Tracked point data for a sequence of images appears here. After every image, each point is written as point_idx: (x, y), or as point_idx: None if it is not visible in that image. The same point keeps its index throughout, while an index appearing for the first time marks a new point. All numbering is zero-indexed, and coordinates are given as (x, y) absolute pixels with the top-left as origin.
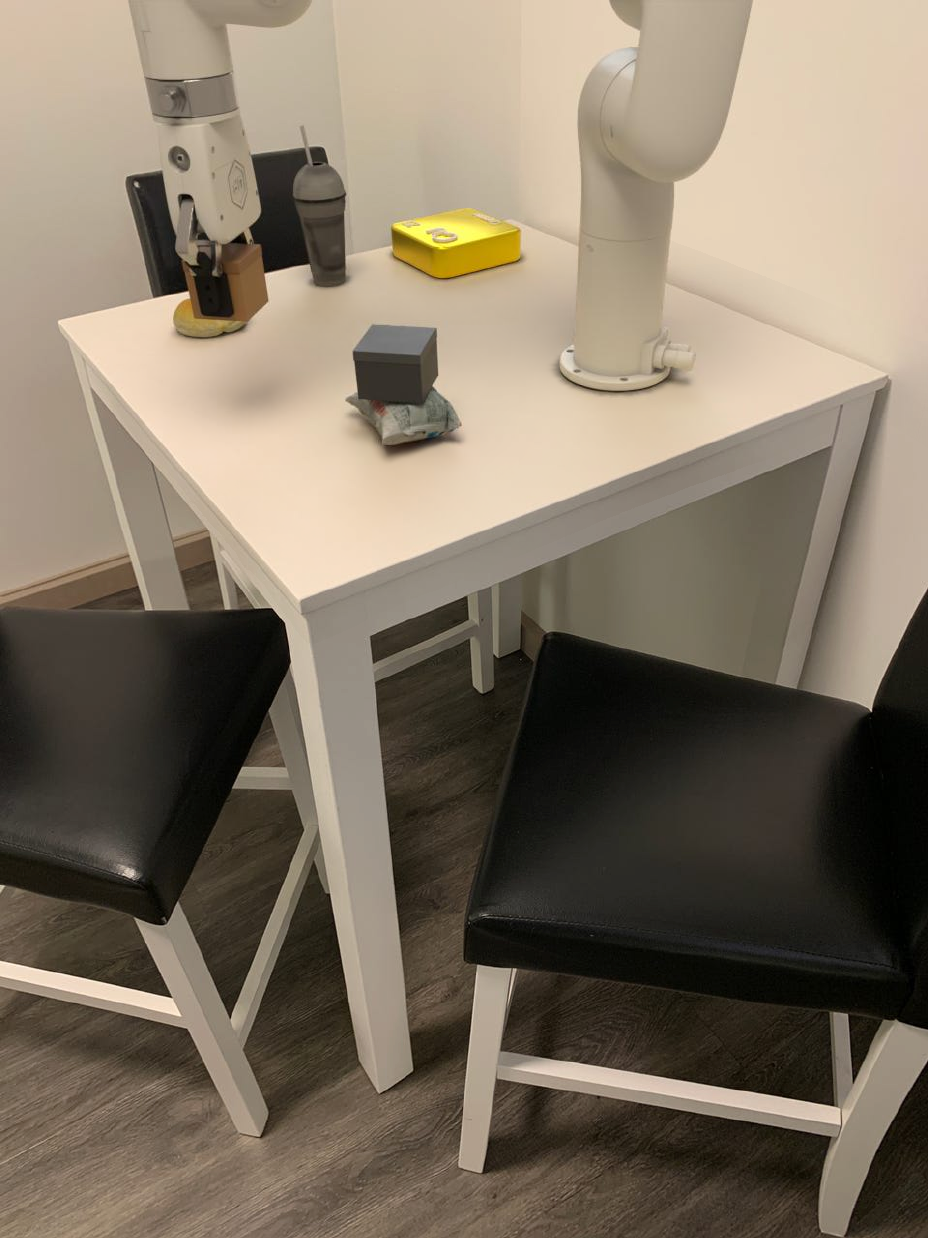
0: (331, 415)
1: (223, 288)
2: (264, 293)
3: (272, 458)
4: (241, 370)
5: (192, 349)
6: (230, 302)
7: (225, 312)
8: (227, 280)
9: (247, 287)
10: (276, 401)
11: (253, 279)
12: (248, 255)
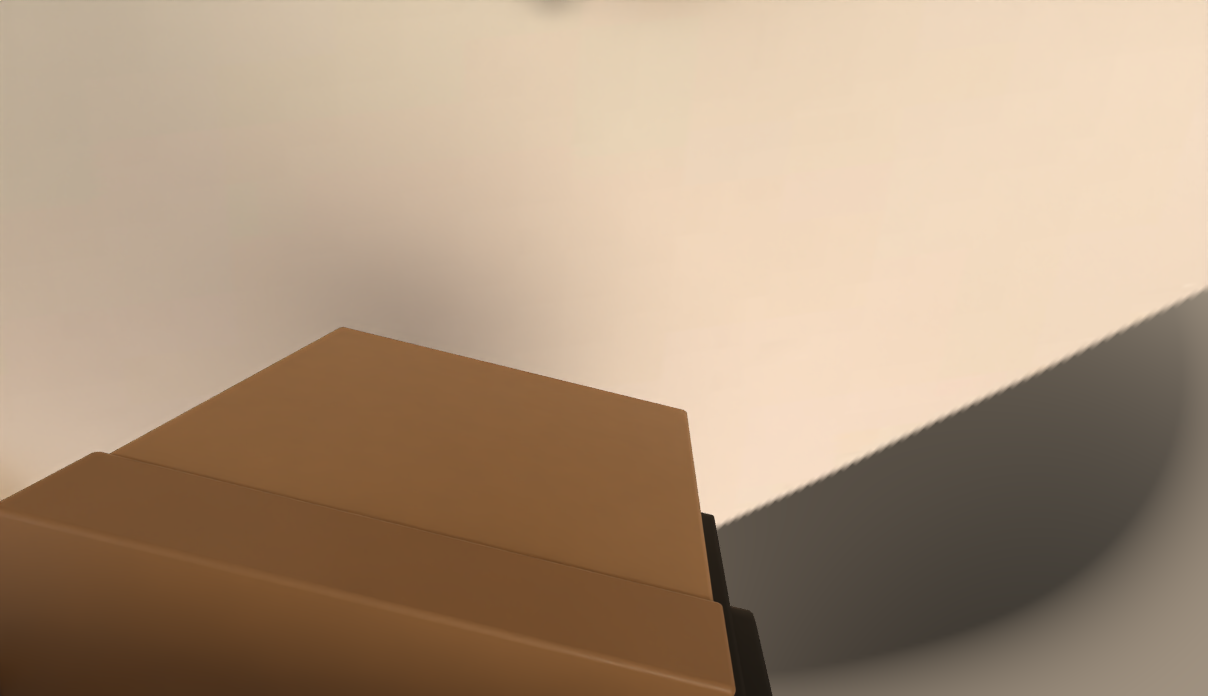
0: (557, 67)
1: None
2: (358, 356)
3: (836, 237)
4: None
5: None
6: (712, 557)
7: None
8: None
9: (596, 480)
10: (448, 273)
11: (459, 455)
12: (407, 600)
